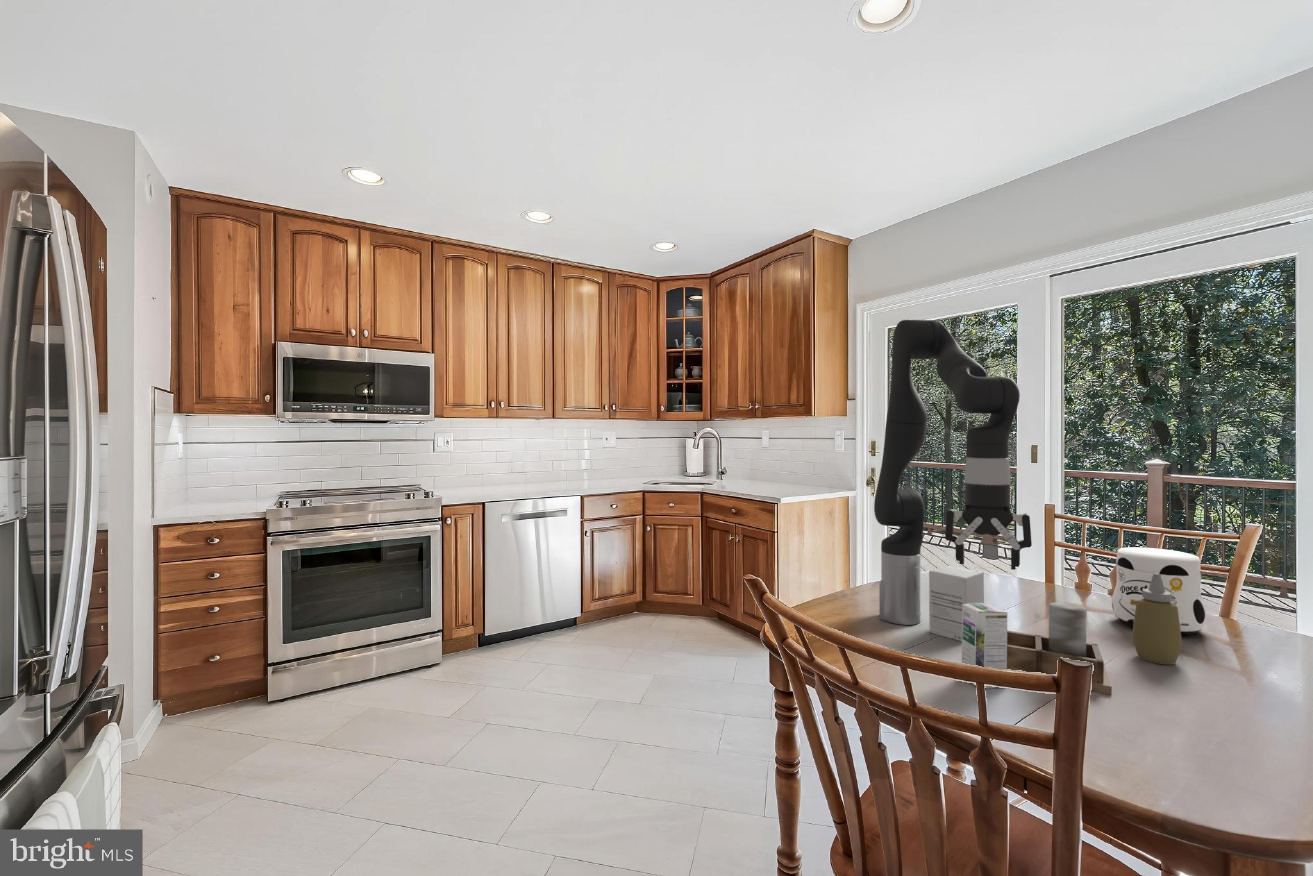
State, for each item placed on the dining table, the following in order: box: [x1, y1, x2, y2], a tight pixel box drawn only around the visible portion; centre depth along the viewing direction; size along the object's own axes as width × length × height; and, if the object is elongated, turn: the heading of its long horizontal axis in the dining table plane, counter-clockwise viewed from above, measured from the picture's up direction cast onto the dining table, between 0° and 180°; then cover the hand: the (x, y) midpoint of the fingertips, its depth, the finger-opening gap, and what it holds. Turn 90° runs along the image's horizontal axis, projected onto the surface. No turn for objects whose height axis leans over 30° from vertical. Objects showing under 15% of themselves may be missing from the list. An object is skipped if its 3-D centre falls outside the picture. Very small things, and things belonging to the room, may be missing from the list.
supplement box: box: [928, 565, 985, 642], centre depth 138 cm, size 9×9×15 cm
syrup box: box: [961, 602, 1008, 690], centre depth 111 cm, size 6×6×14 cm
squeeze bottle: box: [1131, 573, 1184, 665], centre depth 121 cm, size 8×8×18 cm
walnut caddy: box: [1007, 602, 1113, 696], centre depth 117 cm, size 22×12×14 cm, turn 58°
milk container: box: [1111, 546, 1207, 635], centre depth 141 cm, size 17×17×18 cm
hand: (987, 566), depth 111 cm, fingers open, 8 cm apart
